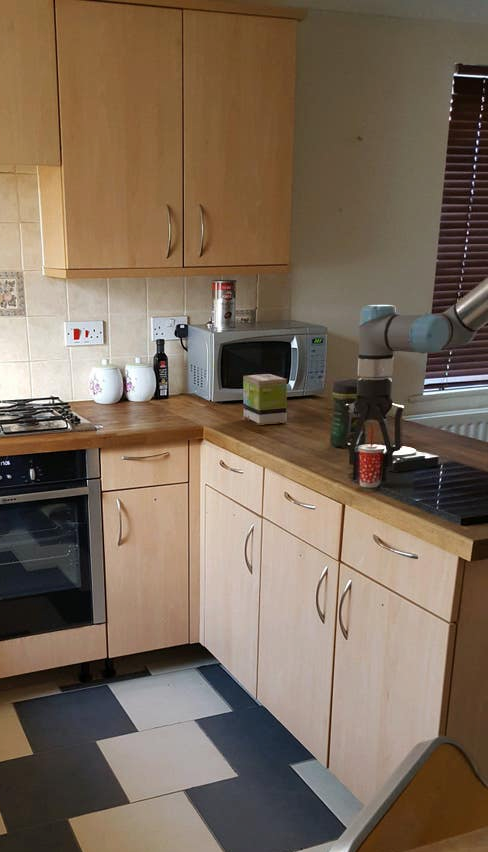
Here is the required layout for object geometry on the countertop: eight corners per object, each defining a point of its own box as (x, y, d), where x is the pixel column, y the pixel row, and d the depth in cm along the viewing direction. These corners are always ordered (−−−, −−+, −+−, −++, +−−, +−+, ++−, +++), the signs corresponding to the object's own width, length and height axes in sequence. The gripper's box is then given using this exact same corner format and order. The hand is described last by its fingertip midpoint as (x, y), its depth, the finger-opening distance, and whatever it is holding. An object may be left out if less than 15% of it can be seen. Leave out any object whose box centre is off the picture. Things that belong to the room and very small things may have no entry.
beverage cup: (362, 481, 206) (365, 421, 202) (387, 483, 203) (390, 423, 198) (351, 486, 202) (354, 425, 197) (377, 489, 198) (380, 427, 194)
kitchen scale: (438, 466, 219) (439, 453, 218) (393, 472, 214) (394, 459, 213) (395, 455, 233) (396, 443, 232) (353, 461, 227) (353, 449, 226)
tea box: (242, 419, 296) (242, 375, 291) (270, 417, 299) (270, 373, 294) (258, 426, 282) (258, 379, 278) (287, 424, 285) (288, 377, 280)
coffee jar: (339, 449, 243) (341, 381, 237) (326, 444, 250) (328, 378, 244) (370, 446, 245) (373, 379, 239) (356, 442, 252) (359, 376, 246)
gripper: (421, 376, 194) (414, 478, 201) (336, 375, 201) (333, 473, 209) (415, 380, 187) (409, 486, 195) (328, 378, 195) (325, 480, 202)
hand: (369, 479), depth 202 cm, fingers closed on beverage cup, 6 cm apart
